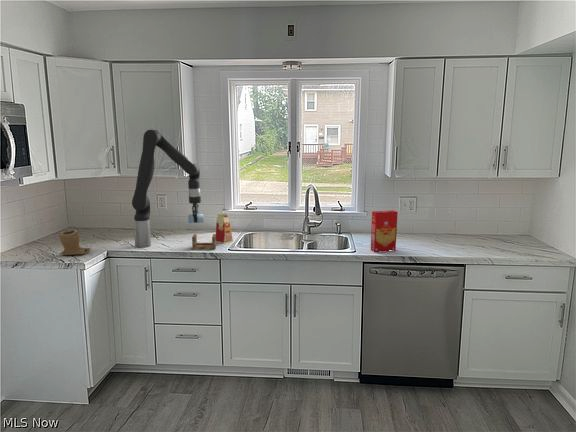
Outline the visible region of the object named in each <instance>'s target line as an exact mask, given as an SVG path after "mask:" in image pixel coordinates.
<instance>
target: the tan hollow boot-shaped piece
mask: <svg viewBox="0 0 576 432" xmlns="http://www.w3.org/2000/svg"><path fill="white" fill-rule="evenodd" d="M59 239H60V243H61V244H62V246H63V248H64V249H63V250H62V251H61V252H60V255H63V256H76V255H77V256H78V255H79V256H80V255H86V254H88V253H89V252H90V251H91V248H90V247H80V234H79V231H78V230H76V229H69V230H64V231H62V232H61V233H59Z"/></svg>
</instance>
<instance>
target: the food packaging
mask: <svg viewBox="0 0 576 432" xmlns="http://www.w3.org/2000/svg"><path fill="white" fill-rule="evenodd" d="M398 213H399V212H398V211H396V210H374V211H373V210H372V211H371V229H370V230H371V231H370V232H371V233H370V234H371V235H370V251H371V250H372V251H371V252H373V251H374V252H373V253H380V252H379V251H387V252H390V251H389V250H396V251H397V249H396V248H397V230H398V229H397V227H398Z"/></svg>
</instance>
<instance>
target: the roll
mask: <svg viewBox="0 0 576 432" xmlns="http://www.w3.org/2000/svg"><path fill="white" fill-rule="evenodd" d="M187 217H188V218H187V221H188V223H189V224H195V223H194V217H193V213H192V214H188V216H187ZM204 217H205V216H204V214H203V213H199V214H197V221H198V222H197V223H196V224H202V223H204V220H205V219H204Z"/></svg>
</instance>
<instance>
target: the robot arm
mask: <svg viewBox="0 0 576 432" xmlns="http://www.w3.org/2000/svg"><path fill="white" fill-rule="evenodd" d="M142 137H143V138H142V151H141V155H140V161H139V165H138V169H137V171H138V172H137V177H136V178H137V179H136V184H135V190H134V193H133V196H132V200H131V206H132V208H133V209H134V210H135V213H134V219H133V220H134V233H133V235H134V237H133V238H134V247H135V248H147V247H150V246H152V242H151V241H152V240H151V225H150V224H151V222H150V220H151V219H150V216H151V202H150V198H149V197H148V190H149V187H150V184H151V182H152V180H153V177H154V173H155V151H156V147H157V148H159V149H161V150H162V151H163V152H164V153H165V154H166V155H167V156H168V158H170V160H172V161H173V162H174V163H175V164H177V165H178V166H180V168H181V169H182V170H183V171H184V172H185V173H186V174H187V175H188V182H187V184H188V185H187V186H188V203H189V204H192V206H191V210H192V211H191V212H192V214H193V217H194V223H193V224H198V223H197V222H198V221H197V214H200V212H199V211H200V209H199V207H200V206H199V204H201V202H202V198H201V197H202V195H201V188H200V187H201V185H200V177H201V175H200V173H201V170H200V167H199V164H196V163H192V162H191V161H190V160H189V159H188V157H187V156H186V155H185V154H183V153H182V152H181V151H180V150H178V149H177V148H176V147H174V145H172V144H171V143H170V142H169V141H168V140H167V139H166V138H165V137H164V136H163V135H162V134H161V132H159V130H156V129H147V130H146V131H145V132H144V133H143V136H142Z"/></svg>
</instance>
